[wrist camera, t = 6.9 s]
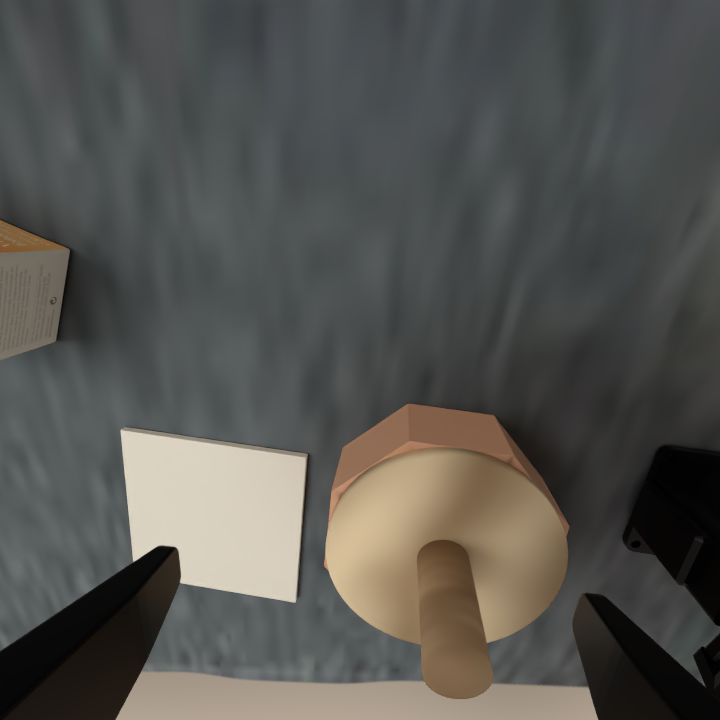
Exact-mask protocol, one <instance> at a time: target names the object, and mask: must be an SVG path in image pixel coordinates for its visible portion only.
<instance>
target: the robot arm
mask: <svg viewBox="0 0 720 720" xmlns="http://www.w3.org/2000/svg"><path fill="white" fill-rule="evenodd" d="M670 454H672V455H671V456H670V457H669V458H666V457H667V456H668V455H670ZM633 541H635V542H633ZM623 543H624V544H625V546H626V547H627V548H628V549H629V550H631V551H634V552H641V553H647V554H654V555H655V556H656V557H657V558H658V559H659V561H660V562H661V563H662V565H663V566H664V567H665V568H666V570H667V571H668V572H669V573H670V575H671V576H672V577H673V579H674V580H675V581H676V582H677V583H678V584H679V585H684V586H685V587H686V588H687V589H688V591H689V592H690V593H691V594H692V596H693V597H694V598H695V599H696V601H697V602H698V603H699V605H700V606H701V607H702V608H703V610H704V611H705V612H706V613H707V615H708V616H709V617H710V618H711V620H712V621H713V622H714V623H715V625H718V626H720V453H719V452H712V451H705V450H697V449H690V448H683V447H676V446H664V447H661V448H660V449H659V450H658V451H657V453H656V455H655V458H654V460H653V463H652V465H651V468H650V470H649V473H648V476H647V478H646V481H645V483H644V485H643V487H642V489H641V492H640V494H639V497H638V500H637V502H636V505H635V507H634V510H633V512H632V515H631V517H630V520H629V523H628V526H627V528H626V531H625V533H624V536H623ZM180 580H181V568H180V559H179V551H178V549H177V548H176V547H173V546H164V545H160V546H157V547H155V548H154V549H152V550H151V551H149V552H148V553H146V554H145V555H143V556H142V557H140V558H139V559H137V560H136V561H134V562H133V563H131V564H130V565H128V566H127V567H125V568H124V569H122V570H121V571H119V572H118V573H116V574H115V575H113V576H112V577H110V578H109V579H107V580H106V581H104V582H103V583H101V584H100V585H98V586H97V587H96V588H94V589H93V590H91V591H90V592H88V593H87V594H85V595H84V596H82V597H81V598H79V599H78V600H76V601H75V602H73V603H72V604H70V605H69V606H67V607H66V608H64V609H63V610H61V611H60V612H58V613H57V614H55V615H54V616H52V617H51V618H49V619H48V620H46V621H45V622H43V623H42V624H40V625H39V626H37V627H36V628H34V629H33V630H31V631H30V632H28V633H27V634H25V635H24V636H22V637H21V638H19V639H18V640H16V641H15V642H13V643H12V644H10V645H9V646H7V647H6V648H4V649H3V650H1V651H0V720H116V718H117V716H118V714H119V712H120V710H121V708H122V706H123V705H124V703H125V701H126V699H127V697H128V695H129V693H130V691H131V690H132V687H133V686H134V684H135V682H136V680H137V678H138V676H139V675H140V673H141V671H142V669H143V667H144V665H145V663H146V661H147V659H148V657H149V655H150V652H151V650H152V648H153V646H154V643H155V641H156V638H157V636H158V634H159V631H160V629H161V627H162V624H163V622H164V620H165V617H166V615H167V613H168V610H169V608H170V605H171V603H172V601H173V598H174V596H175V594H176V591H177V589H178V586H179V584H180ZM573 632H574V636H575V640H576V643H577V647H578V650H579V654H580V658H581V661H582V665H583V668H584V672H585V675H586V679H587V683H588V686H589V690H590V693H591V697H592V700H593V704H594V707H595V710H596V714H597V717H598V720H720V633H719V634H718V635H717V636H716V637H715V638H714V639H713V640H712V641H711V642H710V643H709V644H708V645H707V646H706V647H701V648H700V649H699V650H698V651H697V652H696V653H695V654H694V655H693V656H694V659H695V661H696V664H697V666H698V669H699V671H700V674H701V676H702V679H703V681H704V684H705V686H706V687H705V686H703V685H702V684H701V683H700V682H699V681H698V680H697V679H696V678H695V677H693V676H692V675H691V674H690V673H689V672H688V671H687V670H686V669H685V668H684V667H682V666H681V665H680V664H679V663H678V662H677V661H676V660H675V659H674V658H672V657H671V656H670V655H669V654H668V653H667V652H666V651H665V650H664V649H663V648H661V647H660V646H659V645H658V644H657V643H656V642H655V641H654V640H653V639H651V638H650V637H649V636H648V635H647V634H646V633H645V632H644V631H643V630H642V629H640V628H639V627H638V626H637V625H636V624H635V623H634V622H633V621H632V620H630V619H629V618H628V617H627V616H626V615H625V614H624V613H623V612H622V611H621V610H619V609H618V608H617V607H616V606H615V605H614V604H613V603H612V602H611V601H609V600H608V599H607V598H606V597H605V596H603V595H600V594H592V593H583V594H582V595H581V596H580V598H579V602H578V605H577V608H576V611H575V614H574V617H573Z"/></svg>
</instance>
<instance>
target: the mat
mask: <svg viewBox="0 0 720 720" xmlns="http://www.w3.org/2000/svg"><path fill="white" fill-rule="evenodd" d="M121 439H122V449H123V460H124V470H125V480H126V490H127V501H128V511H129V521H130V531H131V542H132V552H133V562H134V561H136V560H137V559H139V558H140V557H142V556H143V555H145V554H146V553H148V552H149V551H151V550H152V549H154V548H155V547H157V546H160V545H164V546H173V547H176V548H177V549H178V551H179V559H180V568H181V580H180V583H183V584H189V585H195V586H201V587H207V588H213V589H219V590H224V591H230V592H236V593H242V594H248V595H254V596H260V597H266V598H272V599H277V600H283V601H289V602H295V603H296V599H297V591H298V578H299V564H300V551H301V537H302V524H303V510H304V497H305V483H306V470H307V457H308V454H305V453H298V452H292V451H285V450H278V449H271V448H265V447H258V446H251V445H244V444H237V443H231V442H224V441H217V440H210V439H204V438H197V437H190V436H183V435H177V434H170V433H163V432H156V431H149V430H143V429H136V428H129V427H124V428H123V429H122V430H121Z"/></svg>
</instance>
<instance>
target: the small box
mask: <svg viewBox="0 0 720 720" xmlns="http://www.w3.org/2000/svg"><path fill="white" fill-rule="evenodd" d="M69 254H70V250H69V249H68V248H66V247H64V246H61V245H58V244H56V243H54V242H51V241H48V240H46V239H43V238H41V237H38V236H36V235H33V234H31V233H29V232H26V231H24V230H22V229H19V228H17V227H15V226H13V225H10V224H8V223H6V222H4V221H1V220H0V360H2V359H5V358H8V357H11V356H14V355H17V354H20V353H23V352H26V351H29V350H33V349H36V348H39V347H42V346H45V345H48V344H51V343H54V342H55V341H56V338H57V332H58V325H59V319H60V312H61V306H62V299H63V292H64V286H65V279H66V273H67V266H68V260H69Z"/></svg>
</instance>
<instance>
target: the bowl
mask: <svg viewBox="0 0 720 720" xmlns="http://www.w3.org/2000/svg"><path fill="white" fill-rule="evenodd" d="M429 447H452V448H463V449H468V450H473V451H478V452H481V453H484V454H488V455H491V456H494V457H496V458H498V459H500V460H502V461H505V462H507V463H509V464H511V465H512V466H514V467H515V468H517V469H518V470H520V471H522V472H523V473H524V474H525V475H527V476H528V477H529V478H530V479H531V480H533V481H534V482H535V483H536V484H537V486H538V487H539V488H540V489H541V490H542V491H543V492H544V494H545V495H546V497H547V498H548V500H549V501H550V503H551V504H552V506H553V508H554V510H555V512H556V513H557V515H558V517H559V520H560V522H561V524H562V526H563V528H564V532H565V536H567V533H568V530H569V528H570V527H569V525H568V523H567V521H566V520H565V518H564V516H563V514H562V513H561V511H560V509H559V507H558V505H557V504H556V502H555V500H554V498H553V497H552V495H551V493H550V491H549V490H548V488H547V486H546V484H545V483H544V481H543V479H542V477H541V476H540V475H539V473H538V472H537V471H536V469H535V468H534V467H533V466H532V464H531V463H530V462H529V460H528V459H527V458H526V456H525V455H524V454H523V452H522V451H521V450H520V449H519V447H518V446H517V445H516V443H515V442H514V441H513V439H512V438H511V437H510V436H509V434H508V433H507V432H506V430H505V429H504V428H503V426H502V425H501V424H500V422H499V421H498V420H497V419H496V417H495V416H494V415H488V414H481V413H474V412H467V411H460V410H452V409H445V408H438V407H431V406H423V405H416V404H409V403H408V404H407V405H405V406H404V407H402V408H401V409H399V410H398V411H396V412H395V413H393V414H392V415H390V416H389V417H387V418H386V419H384V420H383V421H381V422H380V423H378V424H377V425H375V426H374V427H372V428H371V429H369V430H368V431H366V432H365V433H363V434H362V435H360V436H359V437H357V438H356V439H355V440H353V441H352V442H350V443H349V444H347V445H346V446H344V447H343V449H342V453H341V457H340V460H339V464H338V468H337V472H336V475H335V479H334V483H333V487H332V493H331V503H330V513H329V523H328V528H329V524H330V520H331V517H332V514H333V511H334V508H335V506H336V504H337V502H338V500H339V499H340V497H341V495H342V494H343V492H344V491H345V490H346V488H347V487H348V486H349V485H350V484H351V483H352V482H353V481H354V480H355V479H356V478H357V477H358V476H359V475H360V474H361V473H363V472H364V471H366V470H367V469H368V468H370V467H371V466H373V465H375V464H377V463H378V462H380V461H382V460H384V459H386V458H389V457H391V456H394V455H396V454H399V453H403V452H407V451H411V450H415V449H422V448H429ZM324 566H325V567H326V568H327V569H328V566H327V560H326V553H325V563H324Z"/></svg>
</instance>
